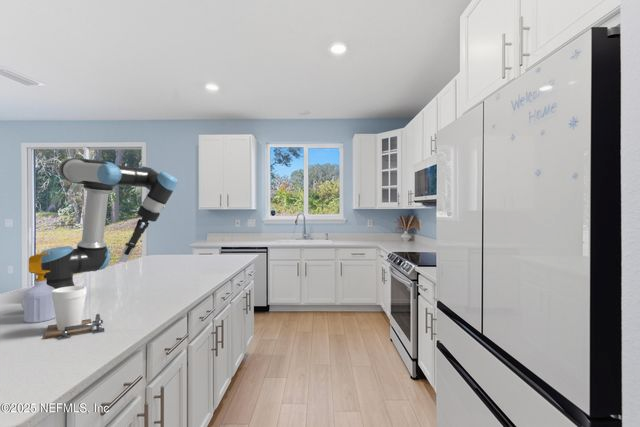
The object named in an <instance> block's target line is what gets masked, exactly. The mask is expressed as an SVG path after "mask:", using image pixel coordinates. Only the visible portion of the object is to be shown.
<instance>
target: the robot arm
mask: <svg viewBox="0 0 640 427" xmlns="http://www.w3.org/2000/svg"><path fill="white" fill-rule="evenodd" d="M58 173H59V175H60V176H61V177H62V178H63V179H64V181H67V182H69V183H72V184H77V185H83V186H82V188H83V189H84V190H85V191H86V196H85V197H86V198H85V204H84V205H85V207H84V217H83V224H82V232H81V233H82V236H81V240H80V241H79V242H77V246H76V248H74V246H71V245H66V246H57V247H51V248H47V249H44V250H42V251H41V252H40V253H39V254H41V253H49V254H47V255H44V256H42V258H41V269H42V270H49V271H50V272H46V274H45V275H44V278H46V280H47V285H49V286H52V287H53V288H55V289H57V288H62V287H68V286H76V285H75V283H74V278H73V277H74V274H82V273H83V274H84V273H88V272H89V273H90V272H97V271H101V270H105V269H106V268H107V267H108V266H109V263H110V262H111V257H112V253H111V249H110V248H109V247H108V246H107V243H105V241H104V237H105V236H104V235H105V229H106V219H107V211H108V202H109V195H110V193H112V192H113V190H114V188H115V187H117V186H129V187H138V188H139V187H140V188H141V187H142V188H146V189H148V190H149V191H148V193H147V194H146V195H145V197H144V199H143V202H142V203H141V204H142V205H140V207H139V209H138V210H137V215H138V216H139V217H140V218H141V219H140V218H139V219H138V221H137V222H136V226H135V228H134V229H133V232H132V235H130V238H129V239H128V241H127V242H125V244H124V248H123V250H122V252H121V254H120V256H119V258H118V261H119V262H122V263H124V264H125V263H127V261H128V260H129V258H130V257H131V254H132V252H133V251H134V249H135V248H136V245H137V243H138V242H139V240H140V238H141V237H142V235H143V234H144V233H145V231H146V229H147V228H148V227H149V225H150V223H149V222H157V220H158V218H159V217H160V215H161V214H160V213H162V211H163V209H166V206H165V205H166V204H167V202H168V200H169V199H170V197H171V195H172V194H173V192H174V191H175V188H176V187H177V184H178V182H179V181H178V179H177V178H176V177H174V176H173V175H171V174H170V173H167V172H165V171H160V172H157V171H156V170H154V168H152V167H150V166H147V165H141V166H138V167H135V166H127V165H119V164H115V163H113V162H111V161H110V162H109V161H105V160H97V159H88V158H83V157H82V158H81V157H80V158H79V157H72V158H67V159H65V160H62V162H61V163H60V164H59V166H58Z"/></svg>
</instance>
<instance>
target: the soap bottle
mask: <svg viewBox="0 0 640 427" xmlns="http://www.w3.org/2000/svg"><path fill="white" fill-rule="evenodd" d="M40 253H41V252H40ZM40 253H37V254H34V255H31V256H29V258H28V272H29V273H30V274H35V276H37V278H35V279H34V285H33V286H32V287H30V288H29V289H27V290H26V291H25V293H24V295H23V300H24V309H23V321H24V323H26V324H27V323H28V324H36V323H43V322H47V321H51V320H53V319H56V316H55V310H54V304H53V299H52V290H54V289H55V288H53V287H52V286H49V285H47V280H46V278H44V275H45V274H46V272H50V271H49V270H42V269H41V258H42V256H44V255H47V254H49V253H41V254H40Z"/></svg>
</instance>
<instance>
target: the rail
mask: <svg viewBox="0 0 640 427" xmlns="http://www.w3.org/2000/svg"><path fill="white" fill-rule="evenodd" d="M102 324H104V319H101V315H100V313H97V314H95V320H93V321H92V322H91V323H87V324H81V325H75V326H69V327H65V330H64V331H62V335H59V337H57V338H58V339H57V340H58V341H60V340H65V339H71V336H72V335H71V334H67V331H68V330H74V329H80V328H86V327H91V328H92V327H95V328H96V329H93V334H98V333H104V332H105V327H102Z"/></svg>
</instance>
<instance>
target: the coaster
mask: <svg viewBox="0 0 640 427" xmlns="http://www.w3.org/2000/svg"><path fill="white" fill-rule="evenodd" d="M87 323H92V319H91V318H88V319H82V323H81V324H87ZM87 332H92V327H86V328H80V329H74V330H68V331H67V334H71V336H72V335H76V334H81V333H87ZM59 335H62V331H60V330H58V328H57V323H56V324H50V325H49V324H48V325H47V328H46V330H45V335H44V340H48V339H53V338H54V339H55V338H59Z"/></svg>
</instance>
